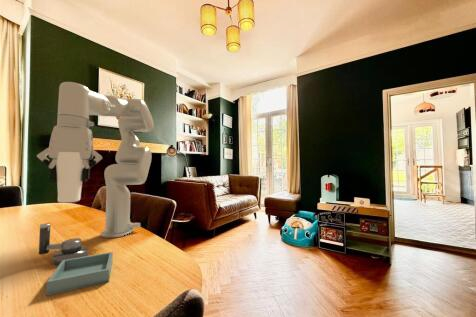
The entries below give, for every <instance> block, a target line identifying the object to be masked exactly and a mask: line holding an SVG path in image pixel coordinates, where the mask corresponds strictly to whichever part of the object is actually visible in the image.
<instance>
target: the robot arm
mask: <svg viewBox="0 0 476 317" xmlns="http://www.w3.org/2000/svg"><path fill="white" fill-rule="evenodd" d="M57 104H58V105H57V122H56V125H54V126H53V129H52V131H51V135H50V139H49V143H48V144H49V146H48V147H47V148H45V149H44V150H42V151H41V152H39V153H38V154H36V157H37V159H39V160H40V161H41V162H43V164H44V165H46V166H47V167H48V169H50V171H49V173H50V174H49V179H50V180H51V182H52V183H57V172H56V160H57V158H58V153H59V152H79V153H80V158H81V159H82V160H83V165H84V169H83V170H82V181H83V182H84V183H85V182H88V180H89V179H90V176H91V175H90V172H91V171H90V170H91V169H92V167H94V166H95V165H97V164H98V163H99V162H100V161H101V160H103V156H102V155H101V154H99V153H98V151H96V150H95V149H94V138H93V131H92V129H90V128H91V127H94V126H95V122H94V121H91V120H90V116H98V117H99V116H101V117H118V121H117V124H118V129H119V133H120V136H121V137H120V138H121V140H120V143H119V146H118V149H117V151H116V153H115V162H116V163H113V164H110V165H108V166H107V167H106V168H105V169H104V180H105V182H104V183H105V188H106V189H105V190H106V191H105V195H106V197H105V198H106V199H105V223H104V225H105V227H104V230H102V231H101V232H100V236H101V237H102V238H106V239H112V238H121V237H124V235H125V236H127V234H128V235H130V234H132V233H133V232H134V228H141V222H131V218H130V217H131V192H130V190H129V188H128V187H127V186H128V185H129V186H131V185H132V186H133V185H139V186H140V185H143V184H145V182H146V181H147V178H148V174H149V170H150V167H151V163H152V159H153V158H152V156H153V155H152V150H151V149H150V148H149V147H148V146H147V147H146V146H140V143H141V142H140V139H139V138H138V136H137V135H136V134H135V132H136V133H139V132H142V133H149V132H151V131H153V129H154V128H155V124H154V118H153V117H152V114H151V112H150V110H149V107H148V105H147V104H146V102H145V101H144V100H143V99H140V98H125V97H118V96H114V95H103V94H102V93H99V92H96V91H93V90H91V89H89V88H88V87H87V86H86V85H84V84H81V83H79V82H78V83H77V82H73V81H64V82H61V83H60V85H59V89H58V102H57ZM47 156H48V157H47ZM94 157H95V158H94ZM49 158H50V159H52V160H50V159H49ZM83 182H82V183H83ZM132 231H133V232H132ZM131 232H132V233H131ZM129 233H130V234H129Z"/></svg>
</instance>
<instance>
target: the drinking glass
mask: <svg viewBox="0 0 476 317" xmlns="http://www.w3.org/2000/svg"><path fill="white" fill-rule="evenodd" d="M83 169H84V165H83V160H82V159H81V158H80V153H79V152H59V153H58V158H57V160H56V172H57V182H56V184H57V186H56V187H57V202H58V203H61V204H63V203H64V204H66V203H77V202H79V201H80V200H81V198H82V188H83V181H82V170H83Z"/></svg>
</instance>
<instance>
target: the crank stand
mask: <svg viewBox="0 0 476 317" xmlns="http://www.w3.org/2000/svg"><path fill="white" fill-rule="evenodd" d="M85 256H89V247H88V246H87V245H81V249H80V250H79V251H76V252H73V253H66V254H64V253H61V249H60V250H59V249H58V250H57V251H56V252H54V253H53V254H52V263H51V264H52V265H53V266H57V267H58V266H59V265H60V263H61V262H62V260H67V259H73V258H79V257H85Z"/></svg>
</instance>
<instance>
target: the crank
mask: <svg viewBox="0 0 476 317" xmlns="http://www.w3.org/2000/svg"><path fill="white" fill-rule="evenodd" d="M50 242H51V223H50V222H46V223H41V224H40V225H39V240H38V255H41V256H43V255H47V254H49V252H50V251H51V250H59V249H60V250H61V253H64V254H66V253H73V252H76V251H79V250H80V249H81V246H82V238H80V237H75V238H70V239H65V240H63V241H61V242H60V243H52V244H51V243H50Z"/></svg>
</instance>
